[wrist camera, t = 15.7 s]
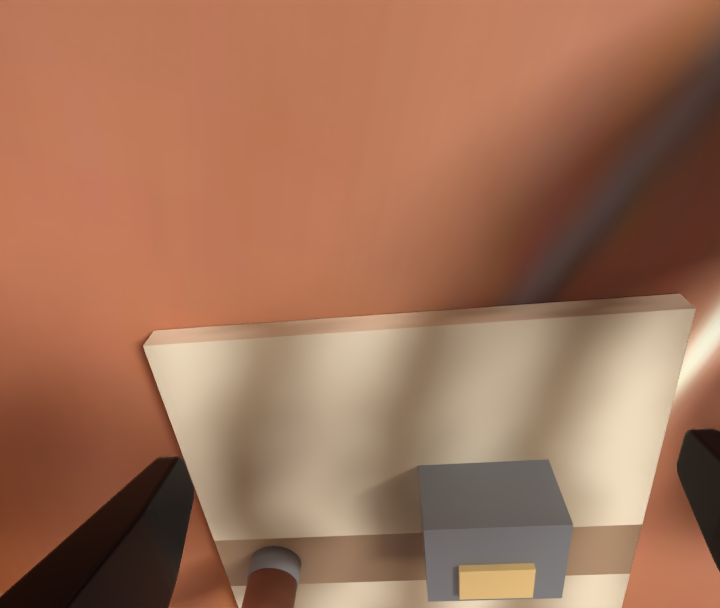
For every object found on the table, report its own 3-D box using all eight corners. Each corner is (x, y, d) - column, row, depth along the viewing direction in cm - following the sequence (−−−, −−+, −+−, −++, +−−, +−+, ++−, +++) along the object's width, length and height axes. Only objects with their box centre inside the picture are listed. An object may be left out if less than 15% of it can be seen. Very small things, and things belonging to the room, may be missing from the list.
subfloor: (680, 293, 21) (696, 308, 20) (612, 591, 31) (620, 611, 30) (153, 330, 23) (142, 345, 22) (247, 601, 32) (243, 621, 31)
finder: (548, 459, 24) (575, 531, 21) (540, 530, 26) (564, 604, 23) (418, 465, 24) (424, 536, 21) (422, 534, 27) (428, 608, 24)
